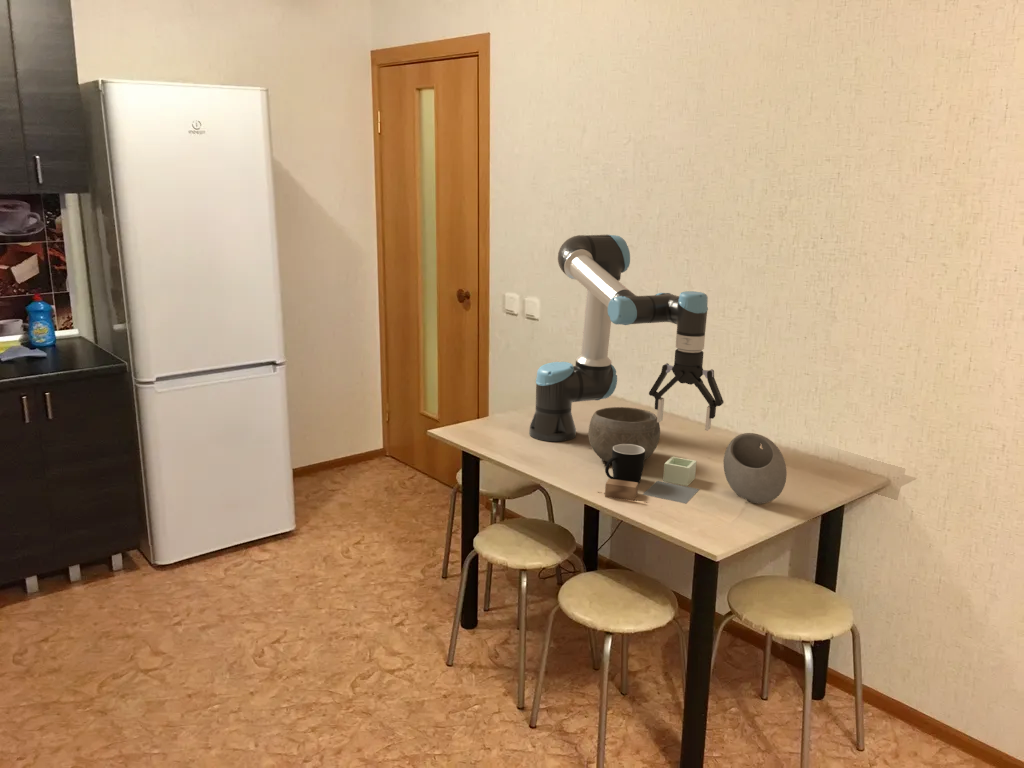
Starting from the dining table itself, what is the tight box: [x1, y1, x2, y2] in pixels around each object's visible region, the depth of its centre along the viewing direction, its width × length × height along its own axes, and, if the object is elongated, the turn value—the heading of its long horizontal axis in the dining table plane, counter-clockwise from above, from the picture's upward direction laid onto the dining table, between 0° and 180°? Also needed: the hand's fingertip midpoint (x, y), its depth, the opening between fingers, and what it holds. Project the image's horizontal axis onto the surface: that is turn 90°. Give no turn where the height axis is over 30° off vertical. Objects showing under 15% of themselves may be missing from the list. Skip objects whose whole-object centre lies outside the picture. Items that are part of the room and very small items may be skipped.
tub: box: [662, 456, 697, 487], centre depth 237 cm, size 7×7×6 cm
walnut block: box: [604, 478, 639, 502], centre depth 226 cm, size 8×4×4 cm, turn 72°
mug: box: [604, 444, 646, 484], centre depth 234 cm, size 12×9×10 cm
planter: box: [723, 432, 788, 504], centre depth 223 cm, size 18×7×19 cm, turn 42°
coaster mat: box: [642, 480, 700, 504], centre depth 229 cm, size 12×12×1 cm
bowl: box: [587, 406, 661, 463], centre depth 252 cm, size 21×21×15 cm
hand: (683, 425), depth 234 cm, fingers open, 13 cm apart
